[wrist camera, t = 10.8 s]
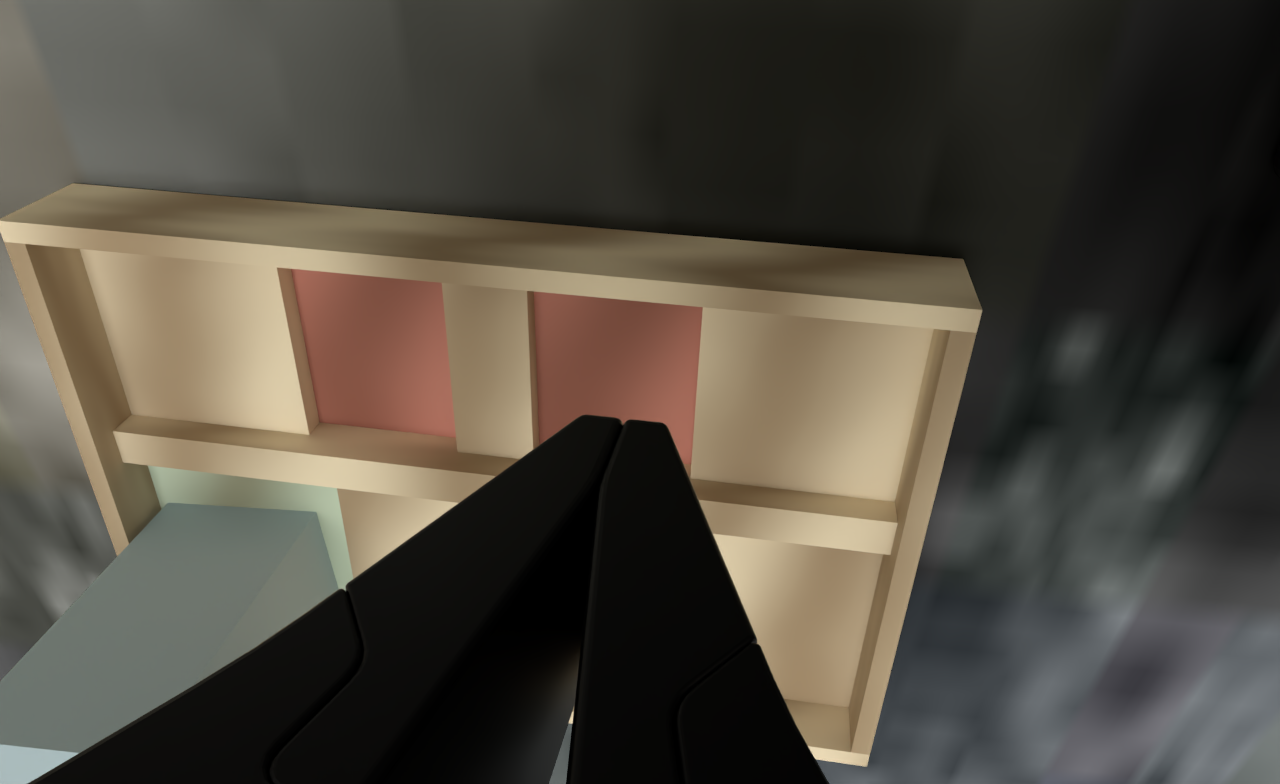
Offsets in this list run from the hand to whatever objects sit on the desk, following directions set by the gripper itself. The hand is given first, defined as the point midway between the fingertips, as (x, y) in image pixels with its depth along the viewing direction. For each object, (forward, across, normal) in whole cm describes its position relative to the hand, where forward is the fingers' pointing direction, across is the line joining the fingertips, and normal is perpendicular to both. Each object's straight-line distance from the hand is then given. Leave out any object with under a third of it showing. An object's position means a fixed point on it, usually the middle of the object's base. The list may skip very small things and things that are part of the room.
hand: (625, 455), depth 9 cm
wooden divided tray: (+12, +5, +10) cm, 16 cm away
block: (+11, +12, +14) cm, 21 cm away
